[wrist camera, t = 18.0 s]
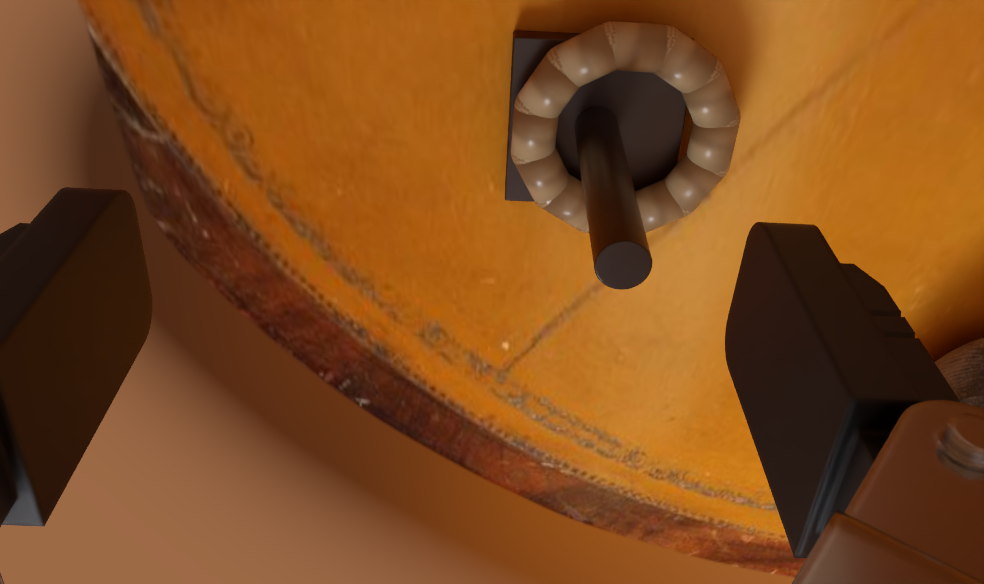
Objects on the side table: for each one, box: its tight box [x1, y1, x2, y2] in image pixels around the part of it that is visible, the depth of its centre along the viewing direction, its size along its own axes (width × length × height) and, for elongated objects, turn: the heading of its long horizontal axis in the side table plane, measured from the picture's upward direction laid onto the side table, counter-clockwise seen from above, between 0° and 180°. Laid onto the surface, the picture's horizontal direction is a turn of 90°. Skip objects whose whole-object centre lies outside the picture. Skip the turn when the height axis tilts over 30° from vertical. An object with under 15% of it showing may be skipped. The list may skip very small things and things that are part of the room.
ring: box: [511, 21, 740, 233], centre depth 40 cm, size 10×10×2 cm
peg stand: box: [505, 31, 694, 289], centre depth 37 cm, size 8×8×13 cm
